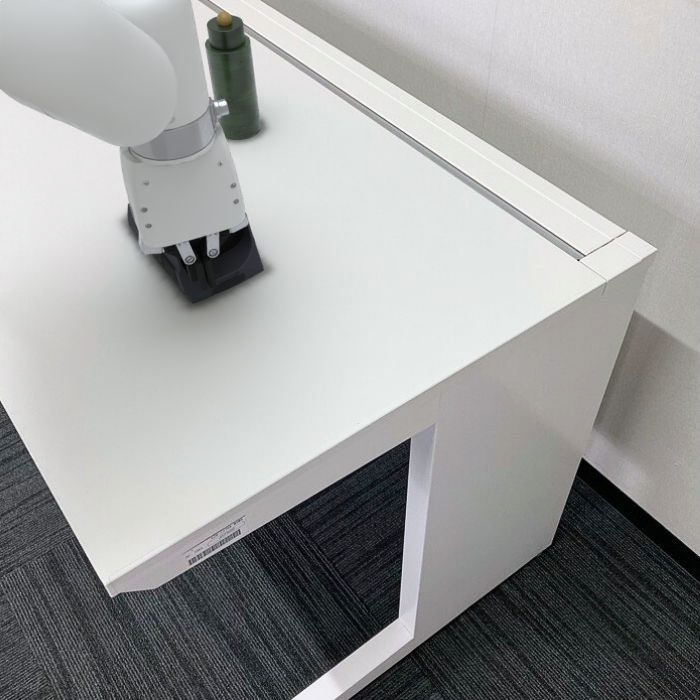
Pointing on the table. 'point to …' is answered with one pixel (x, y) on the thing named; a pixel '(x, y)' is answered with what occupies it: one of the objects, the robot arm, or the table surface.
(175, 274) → the sight
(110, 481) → the table surface
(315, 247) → the table surface
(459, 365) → the table surface
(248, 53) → the pepper mill
